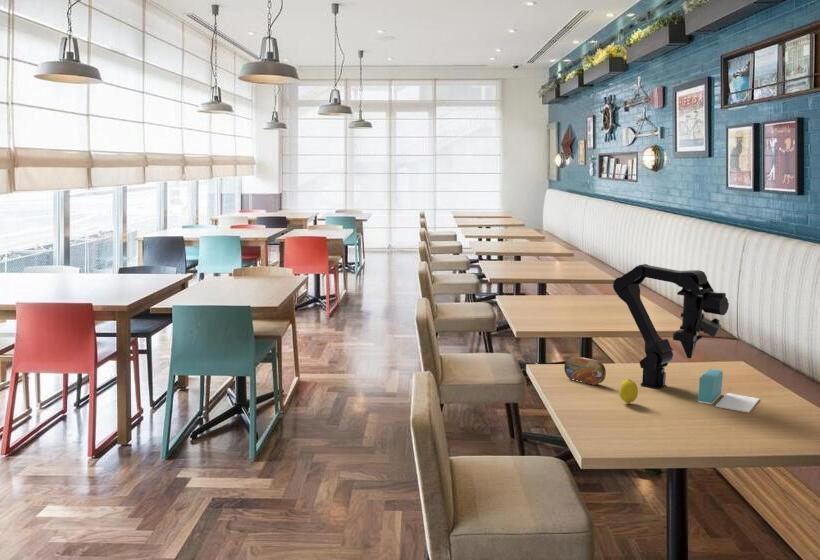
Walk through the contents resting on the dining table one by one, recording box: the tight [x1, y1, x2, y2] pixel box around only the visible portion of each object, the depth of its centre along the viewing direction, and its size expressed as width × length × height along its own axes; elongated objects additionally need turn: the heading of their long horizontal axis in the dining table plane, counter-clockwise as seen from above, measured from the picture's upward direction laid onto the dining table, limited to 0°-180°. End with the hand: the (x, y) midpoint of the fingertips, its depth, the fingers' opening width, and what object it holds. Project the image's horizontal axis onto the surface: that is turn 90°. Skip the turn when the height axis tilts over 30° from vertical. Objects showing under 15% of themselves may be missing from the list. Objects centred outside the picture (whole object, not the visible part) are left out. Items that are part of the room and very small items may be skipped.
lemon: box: [618, 378, 639, 405], centre depth 221 cm, size 6×6×8 cm
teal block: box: [697, 368, 724, 405], centre depth 227 cm, size 4×12×8 cm, turn 144°
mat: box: [715, 392, 760, 414], centre depth 223 cm, size 10×15×1 cm, turn 144°
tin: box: [563, 355, 607, 386], centre depth 244 cm, size 15×3×8 cm, turn 44°
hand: (689, 358), depth 230 cm, fingers closed
